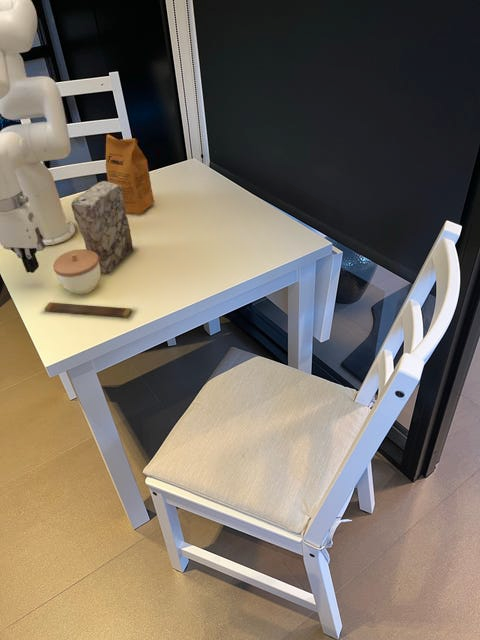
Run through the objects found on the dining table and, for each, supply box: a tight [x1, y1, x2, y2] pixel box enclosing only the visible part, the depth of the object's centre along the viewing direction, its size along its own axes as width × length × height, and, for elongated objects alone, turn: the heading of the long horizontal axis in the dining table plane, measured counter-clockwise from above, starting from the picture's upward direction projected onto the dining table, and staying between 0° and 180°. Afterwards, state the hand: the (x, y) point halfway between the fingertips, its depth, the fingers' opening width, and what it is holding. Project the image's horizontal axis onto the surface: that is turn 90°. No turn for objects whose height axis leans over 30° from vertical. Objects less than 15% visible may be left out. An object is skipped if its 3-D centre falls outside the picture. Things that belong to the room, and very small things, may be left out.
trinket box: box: [52, 248, 102, 295], centre depth 127 cm, size 11×11×9 cm
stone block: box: [70, 180, 134, 274], centre depth 132 cm, size 13×7×20 cm, turn 161°
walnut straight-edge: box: [44, 302, 133, 319], centre depth 121 cm, size 21×2×1 cm, turn 78°
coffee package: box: [105, 133, 155, 215], centre depth 155 cm, size 10×12×22 cm
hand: (33, 269), depth 128 cm, fingers closed
